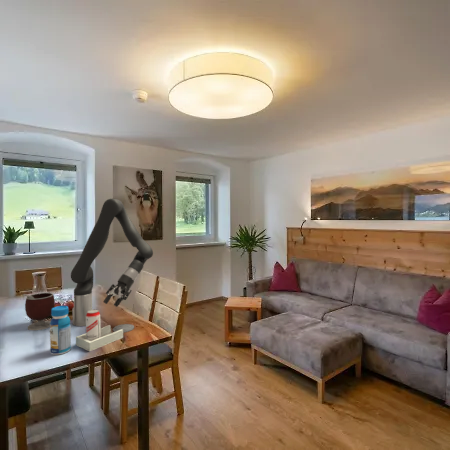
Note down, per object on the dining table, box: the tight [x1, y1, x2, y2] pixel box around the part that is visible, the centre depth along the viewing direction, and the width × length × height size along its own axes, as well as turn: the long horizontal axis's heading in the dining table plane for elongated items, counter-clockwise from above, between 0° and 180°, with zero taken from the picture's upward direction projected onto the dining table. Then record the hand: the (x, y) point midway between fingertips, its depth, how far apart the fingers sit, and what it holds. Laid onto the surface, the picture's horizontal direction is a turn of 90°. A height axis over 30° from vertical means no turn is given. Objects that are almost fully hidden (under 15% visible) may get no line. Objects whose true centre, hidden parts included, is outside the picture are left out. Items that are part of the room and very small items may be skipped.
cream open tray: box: [75, 324, 124, 352], centre depth 143 cm, size 18×11×4 cm, turn 146°
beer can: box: [85, 308, 101, 341], centre depth 140 cm, size 6×6×16 cm
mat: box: [112, 323, 135, 334], centre depth 159 cm, size 11×11×1 cm
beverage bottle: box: [49, 305, 72, 356], centre depth 133 cm, size 8×8×20 cm
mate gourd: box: [22, 292, 56, 332], centre depth 162 cm, size 16×14×20 cm
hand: (110, 304), depth 147 cm, fingers open, 8 cm apart
